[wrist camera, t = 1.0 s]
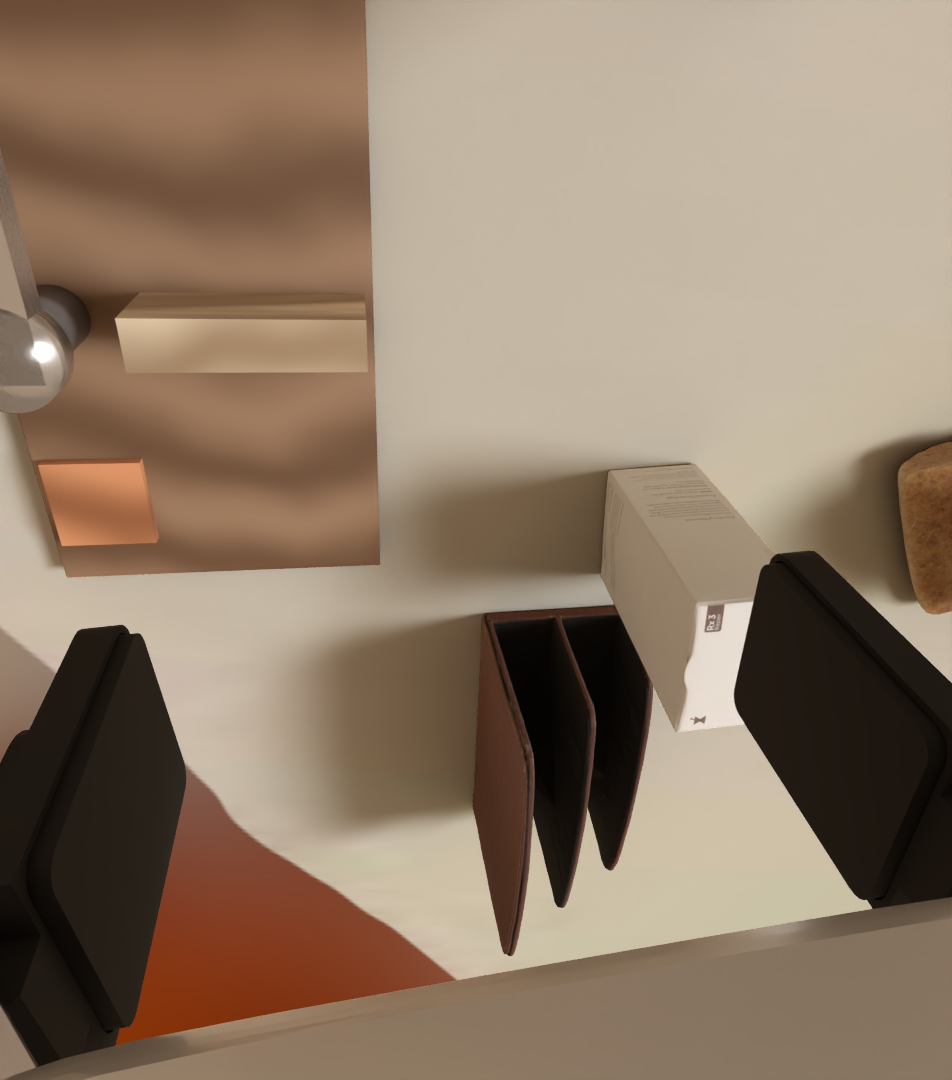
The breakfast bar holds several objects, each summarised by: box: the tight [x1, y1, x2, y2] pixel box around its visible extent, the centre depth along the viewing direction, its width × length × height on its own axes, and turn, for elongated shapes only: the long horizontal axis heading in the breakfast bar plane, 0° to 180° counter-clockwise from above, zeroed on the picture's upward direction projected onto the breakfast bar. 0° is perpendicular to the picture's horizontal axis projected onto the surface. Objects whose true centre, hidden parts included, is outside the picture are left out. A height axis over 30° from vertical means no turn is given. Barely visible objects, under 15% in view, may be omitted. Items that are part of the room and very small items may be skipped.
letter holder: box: [473, 606, 653, 956], centre depth 50 cm, size 10×20×14 cm, turn 178°
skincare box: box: [601, 465, 775, 732], centre depth 42 cm, size 8×6×15 cm
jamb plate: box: [0, 0, 380, 577], centre depth 35 cm, size 30×18×6 cm, turn 177°
